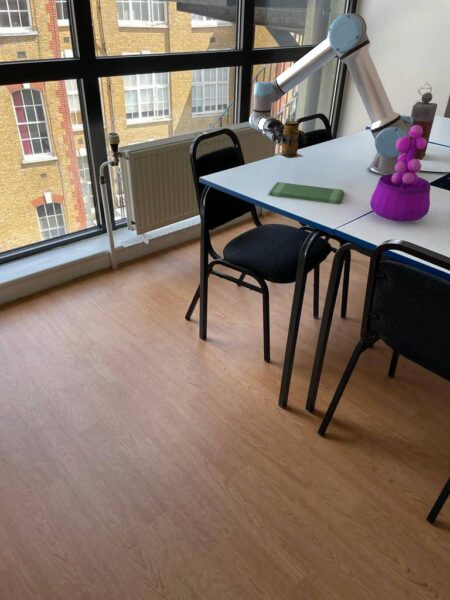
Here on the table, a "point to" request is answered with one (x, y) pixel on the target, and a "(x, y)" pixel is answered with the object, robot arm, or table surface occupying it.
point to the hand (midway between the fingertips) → (298, 141)
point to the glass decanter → (423, 121)
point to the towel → (307, 192)
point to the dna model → (424, 88)
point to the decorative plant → (403, 184)
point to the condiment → (293, 133)
